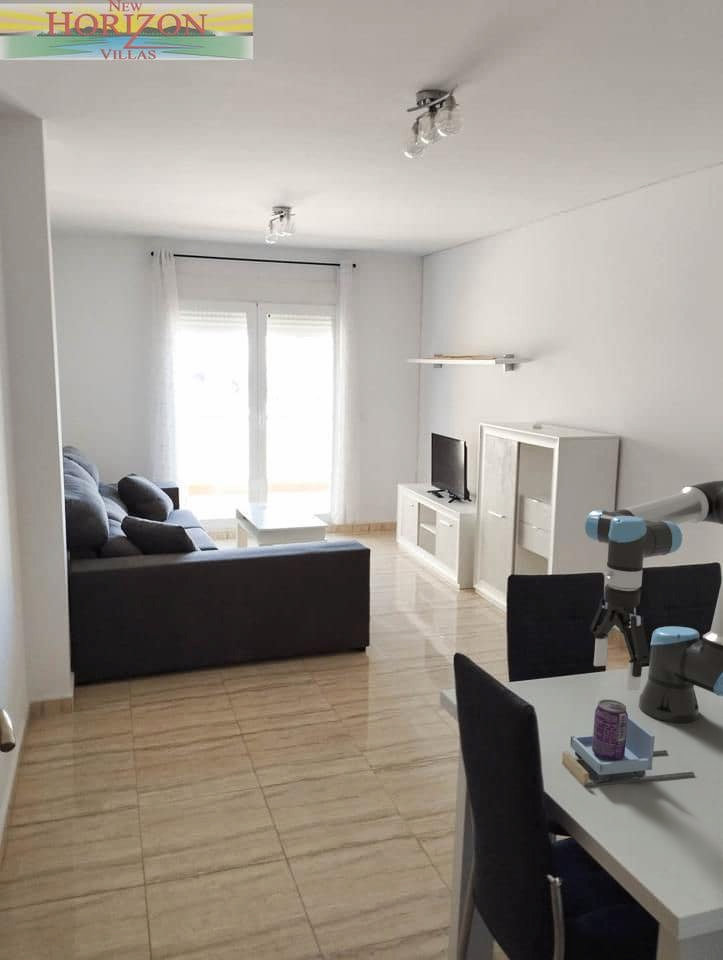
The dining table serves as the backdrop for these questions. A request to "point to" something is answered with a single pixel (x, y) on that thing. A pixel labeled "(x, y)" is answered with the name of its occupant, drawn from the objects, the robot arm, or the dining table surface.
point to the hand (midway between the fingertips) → (615, 677)
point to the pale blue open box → (634, 759)
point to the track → (583, 779)
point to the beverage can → (610, 729)
